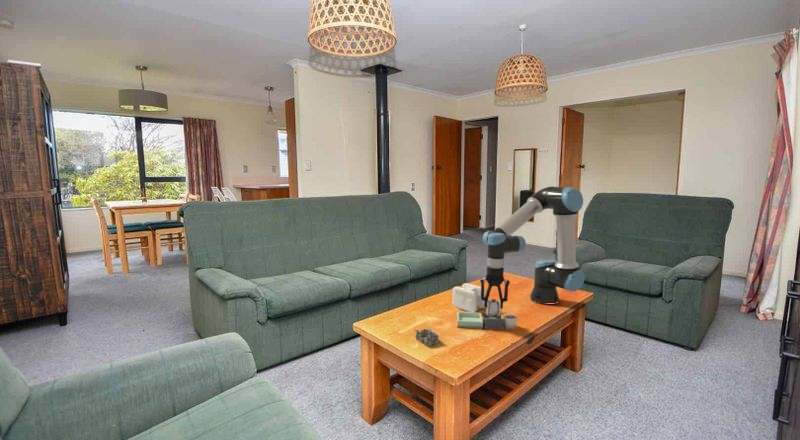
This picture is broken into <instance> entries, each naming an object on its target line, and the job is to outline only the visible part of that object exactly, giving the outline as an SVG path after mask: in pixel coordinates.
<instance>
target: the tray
mask: <svg viewBox="0 0 800 440" xmlns="http://www.w3.org/2000/svg"><path fill="white" fill-rule="evenodd" d="M456 325H457V328H467V329H482V330H483V327H484V319H483V317H482V312H467V311H456Z"/></svg>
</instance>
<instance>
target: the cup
mask: <svg viewBox="0 0 800 440" xmlns="http://www.w3.org/2000/svg"><path fill="white" fill-rule="evenodd" d="M502 319H503V329H506V328H507V329H506V330H510V329H514V330H516V329H517V325H518V324H517V322H518V316H517V315H515V314H511V313H506V314H503V318H502ZM515 328H516V329H515Z"/></svg>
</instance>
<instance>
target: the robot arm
mask: <svg viewBox="0 0 800 440" xmlns="http://www.w3.org/2000/svg"><path fill="white" fill-rule="evenodd" d="M583 205H584V197H583V193H582V192H581V191H580V190H579V189H577V188H576V187H569V186H548V187H544V188H541V189H540V190H537V192H534V193H533V194H532V195H531V196H529V197H528V198H527V200H526V203H525V202H524V204H523V205H521V207H519V208H518V209H517V210H516V211H515V212H513V214H511V215H510V216H509V217H508V218H506V219H505V220H504V221H503V222H502V223H501V224H500V225H498V226H497V227H496V228H495V229H494V230H487V231H485V232H484V233H483V235H482V242H483V244H484V245H486V246H487V260H486V261H487V262H486V265H487V267H486V275H485V277H484V278H479V281H480V287H481V300H484V301H485V302H484V308H485V309H486V311H485V312H486V314H487V315H488V316H489V300H490V299H489V297H490V294H491V290H492V287H495V288H496V287H497V291H498V297H499V300H498V301H499V309H498V316H500V313H501V310H502V309H503V308H504V303H505V302H508V296H509V295H508V294H509V286H510V283H511V282H510V280H509V279H506V278H505V277H504V270H505V268H504V266H505V254H509V253H519V252H522V251H524V250H525V249H526V243H527V242H526V239H525V238H524V237H523V236H521V235H513V234H514V233H515V232H517V231H518V230H519V229H520V228H521V227H522V226H524V225H525V224H526V223H527V222H528V221H529V220H531V219H532V218H533V217H534V216H535V215H536V214H537V213H542V212H543V211H544V210H549V209H550V210H552V215H554V216H555V218H556V250H557V260H556V259H539V260H536V262H535V267H534V281H533V282H534V283H533V284H534V285H533V288H532V290H531V293H530V297H529V299H530V298H531V299H530V300H531V301H532V300H533V301H536V302H540V303H556V302H558V301H559V302H560V296H559V292H558V290H557V288H560V289H562V290H565V291H569V292H576V291H579V289H581V287H582V286H583V284H584V282H585V273H584V271H582V270H580V264H579V263H578V262H577V261H576V260H577V258H576V257H577V256H576V218H575V217H576V216H577V215H578V214H579V211H580V210H581V209H582V208H583ZM486 282H487V284H488V285H487V289H486V291H485V297H484V289H485V284H486ZM502 283H504V291H503V292H504V294H503V293H502V287H501V285H502ZM533 301H532V302H533ZM536 302H535V303H536Z"/></svg>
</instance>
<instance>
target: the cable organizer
mask: <svg viewBox="0 0 800 440" xmlns="http://www.w3.org/2000/svg"><path fill="white" fill-rule="evenodd" d="M461 286H462V287H461ZM461 286H453V288H452V299H451V300H452V305H453V307H455V308H456V309H459V310H464V311H465V312H474V313H477V311H478V309H483V308H485V306H484V302H485V301H484V300H481V286H479V285H474V284H471V283H467V282H465V283H463V284H462V285H461ZM485 295H486V289H485V288H484V297H485Z"/></svg>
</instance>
